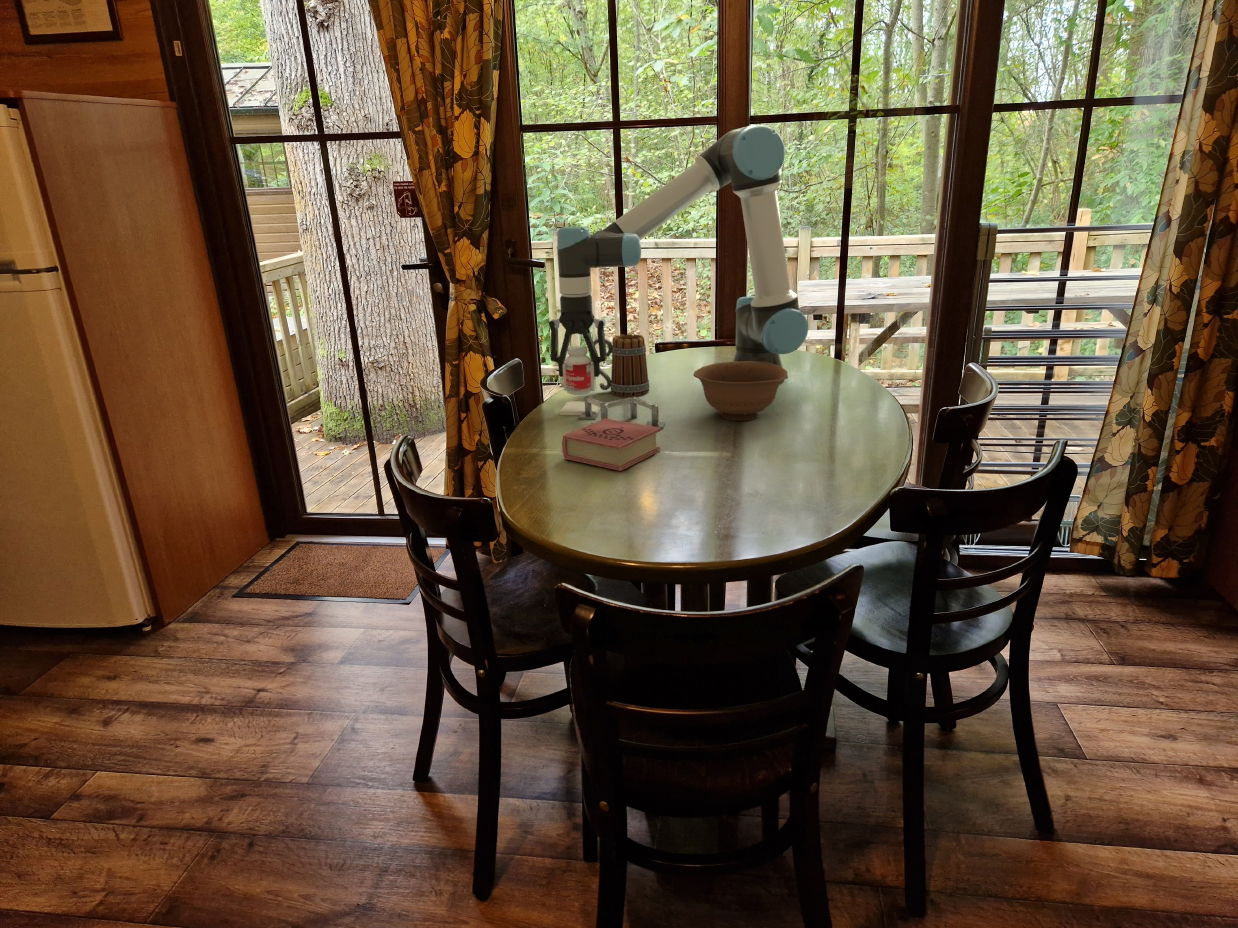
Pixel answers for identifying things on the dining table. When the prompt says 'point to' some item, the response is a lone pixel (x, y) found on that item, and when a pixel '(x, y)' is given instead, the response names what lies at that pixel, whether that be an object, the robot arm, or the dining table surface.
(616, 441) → the book
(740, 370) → the bowl
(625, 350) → the mug
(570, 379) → the pill bottle
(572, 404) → the pad
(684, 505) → the dining table surface
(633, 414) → the jointed bar linkage
